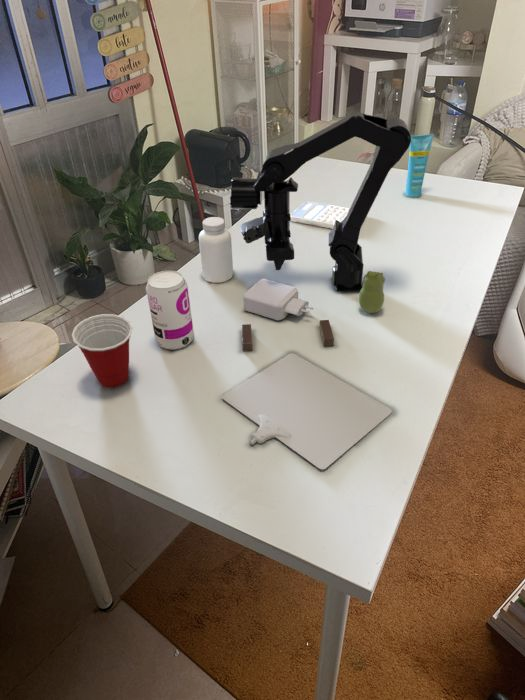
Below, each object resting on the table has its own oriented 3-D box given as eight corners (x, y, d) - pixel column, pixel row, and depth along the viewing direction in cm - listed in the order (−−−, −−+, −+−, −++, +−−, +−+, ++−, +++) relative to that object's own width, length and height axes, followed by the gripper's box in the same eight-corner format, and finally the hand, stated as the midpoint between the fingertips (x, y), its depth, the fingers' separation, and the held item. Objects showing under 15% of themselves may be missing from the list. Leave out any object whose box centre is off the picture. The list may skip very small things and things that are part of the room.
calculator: (349, 232, 154) (350, 226, 153) (288, 221, 162) (287, 215, 160) (365, 215, 163) (365, 209, 162) (306, 205, 171) (306, 199, 170)
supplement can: (200, 332, 116) (192, 272, 107) (183, 354, 110) (174, 292, 101) (167, 326, 119) (157, 266, 109) (149, 347, 112) (137, 286, 103)
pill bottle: (229, 284, 132) (225, 228, 123) (198, 282, 134) (192, 226, 125) (237, 269, 138) (233, 215, 129) (207, 267, 140) (201, 213, 131)
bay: (328, 327, 116) (328, 319, 115) (333, 346, 111) (333, 338, 110) (242, 332, 116) (241, 324, 115) (242, 351, 110) (242, 343, 109)
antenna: (204, 409, 97) (203, 405, 96) (291, 354, 110) (292, 350, 109) (305, 487, 82) (306, 482, 82) (393, 413, 95) (394, 408, 95)
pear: (355, 314, 120) (359, 276, 114) (360, 302, 124) (364, 264, 118) (380, 319, 118) (385, 280, 112) (384, 306, 122) (389, 268, 116)
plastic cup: (115, 404, 99) (101, 354, 91) (74, 385, 103) (58, 335, 96) (154, 372, 106) (144, 323, 99) (114, 355, 111) (102, 307, 103)
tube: (405, 199, 173) (414, 137, 161) (399, 193, 176) (407, 133, 165) (426, 196, 174) (436, 135, 162) (419, 191, 178) (429, 131, 166)
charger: (301, 330, 116) (244, 312, 122) (320, 310, 122) (264, 293, 128) (302, 312, 113) (243, 294, 119) (321, 292, 119) (264, 276, 126)
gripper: (240, 195, 128) (244, 253, 137) (242, 227, 113) (246, 290, 123) (286, 192, 128) (287, 251, 138) (294, 225, 113) (294, 288, 123)
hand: (277, 269), depth 130 cm, fingers closed
